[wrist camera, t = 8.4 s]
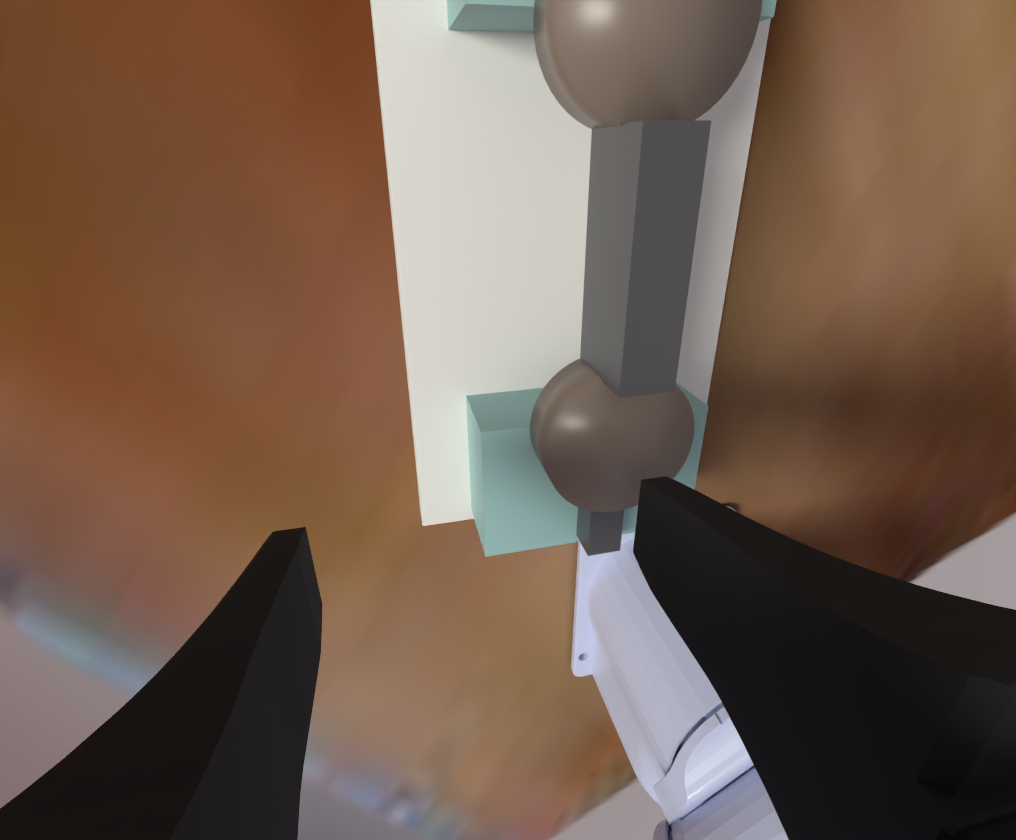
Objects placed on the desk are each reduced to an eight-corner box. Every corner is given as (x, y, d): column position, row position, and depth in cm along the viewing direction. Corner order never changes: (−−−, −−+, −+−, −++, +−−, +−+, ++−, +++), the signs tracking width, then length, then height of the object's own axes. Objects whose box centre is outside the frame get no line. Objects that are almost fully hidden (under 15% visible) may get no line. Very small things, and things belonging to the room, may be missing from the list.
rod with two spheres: (651, 522, 21) (693, 576, 18) (528, 542, 20) (553, 602, 17) (750, -232, 12) (859, -342, 9) (535, -263, 11) (589, -396, 8)
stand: (682, 474, 25) (732, 526, 22) (420, 511, 23) (430, 576, 19) (783, -187, 15) (904, -287, 12) (346, -243, 13) (338, -388, 10)
